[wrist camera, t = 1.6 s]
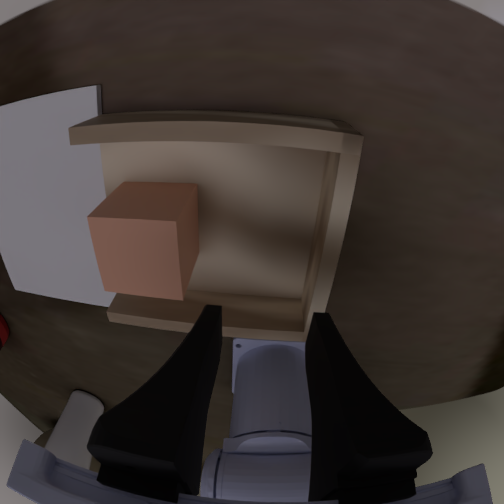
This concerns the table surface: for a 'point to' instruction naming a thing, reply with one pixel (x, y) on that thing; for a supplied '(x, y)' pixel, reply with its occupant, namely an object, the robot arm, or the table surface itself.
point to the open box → (240, 211)
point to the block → (147, 238)
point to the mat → (51, 196)
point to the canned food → (3, 331)
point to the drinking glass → (75, 429)
